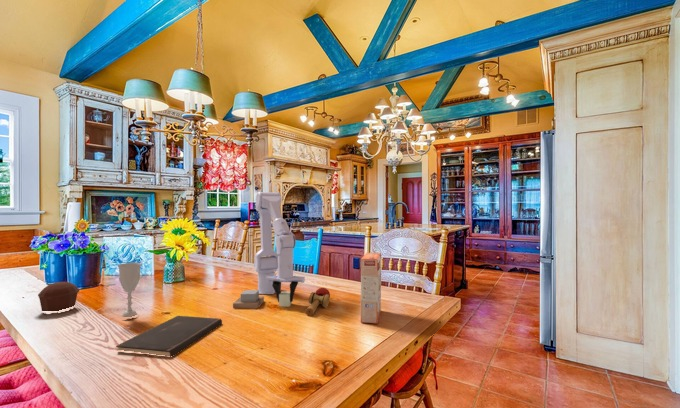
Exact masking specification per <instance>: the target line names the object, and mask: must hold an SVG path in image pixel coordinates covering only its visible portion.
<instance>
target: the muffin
mask: <svg viewBox="0 0 680 408" xmlns="http://www.w3.org/2000/svg"><path fill="white" fill-rule="evenodd" d="M79 292H80V289H79V288H78V287H77V285H75V284H74V283H73V282H69V281H58V282H52V283H50V284H48V285H47V286H44V288H43V289H41V291H40V292H39V293H38V294H37V297H38V298H39V303H40V308H41V312H42V311H59V310H62V309H66V308H69V307H72V306H74V305H75V306H76V303H77V298H78V297H77V296H78V293H79Z"/></svg>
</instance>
